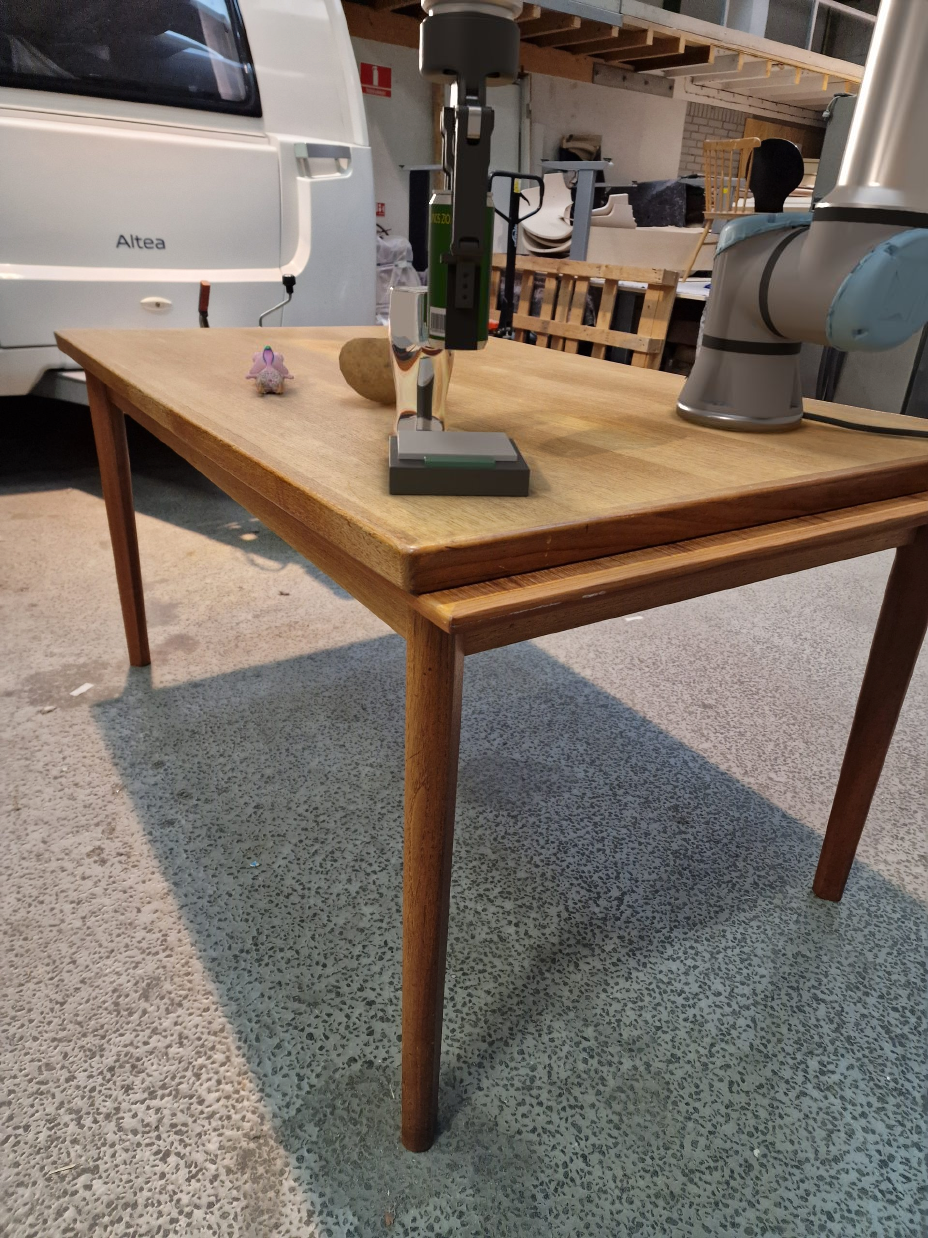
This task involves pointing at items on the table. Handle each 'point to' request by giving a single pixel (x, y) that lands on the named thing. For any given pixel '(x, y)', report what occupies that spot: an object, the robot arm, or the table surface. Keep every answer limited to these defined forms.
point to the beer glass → (416, 364)
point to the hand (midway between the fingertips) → (458, 343)
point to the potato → (369, 368)
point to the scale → (456, 464)
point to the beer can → (438, 270)
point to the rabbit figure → (269, 371)
